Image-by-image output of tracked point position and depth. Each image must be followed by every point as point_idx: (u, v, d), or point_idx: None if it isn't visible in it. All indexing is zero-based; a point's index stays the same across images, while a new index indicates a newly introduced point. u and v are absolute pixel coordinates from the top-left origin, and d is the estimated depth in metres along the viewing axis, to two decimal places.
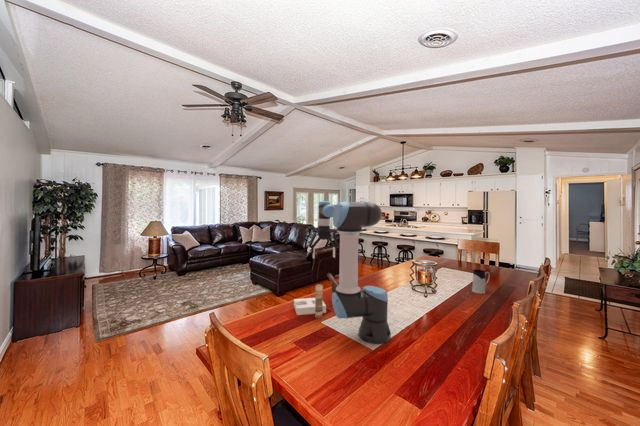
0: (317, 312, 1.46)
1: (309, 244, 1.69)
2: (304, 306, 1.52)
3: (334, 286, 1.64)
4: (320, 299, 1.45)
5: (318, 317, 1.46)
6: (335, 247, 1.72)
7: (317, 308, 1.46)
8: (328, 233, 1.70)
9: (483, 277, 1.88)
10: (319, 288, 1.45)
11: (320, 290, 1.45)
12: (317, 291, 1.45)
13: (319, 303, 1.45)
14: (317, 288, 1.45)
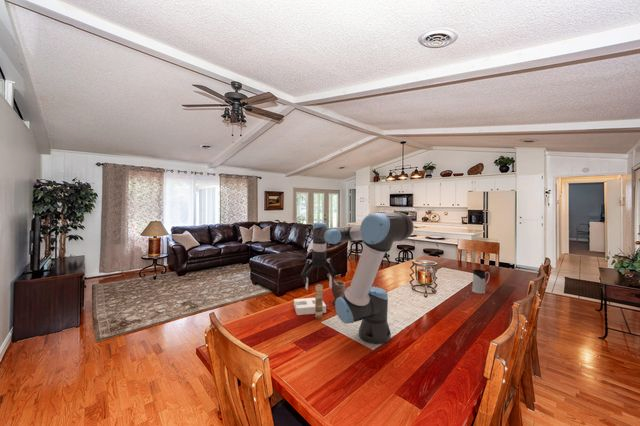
0: (317, 312, 1.46)
1: (301, 273, 1.44)
2: (304, 306, 1.52)
3: (334, 286, 1.64)
4: (320, 299, 1.45)
5: (318, 317, 1.46)
6: None
7: (317, 308, 1.46)
8: (324, 260, 1.46)
9: (483, 277, 1.88)
10: (319, 288, 1.45)
11: (320, 290, 1.45)
12: (317, 291, 1.45)
13: (319, 303, 1.45)
14: (317, 288, 1.45)
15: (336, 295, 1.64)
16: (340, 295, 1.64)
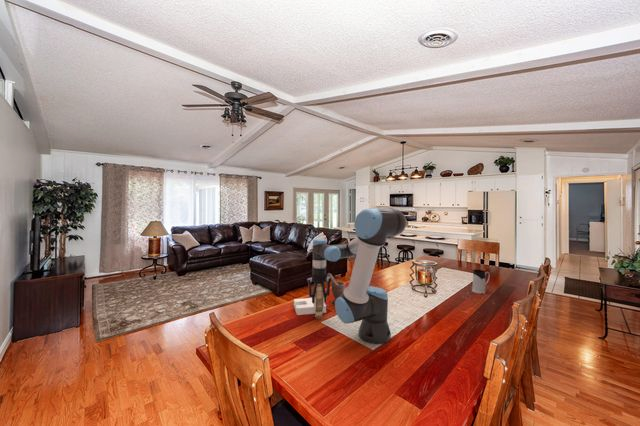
0: (317, 312, 1.46)
1: (309, 293, 1.45)
2: (304, 306, 1.52)
3: (334, 286, 1.64)
4: (320, 299, 1.45)
5: (318, 317, 1.46)
6: (324, 296, 1.47)
7: (317, 308, 1.46)
8: (324, 276, 1.46)
9: (483, 277, 1.88)
10: (319, 288, 1.45)
11: (320, 290, 1.45)
12: (317, 291, 1.45)
13: (319, 303, 1.45)
14: (317, 288, 1.45)
15: (336, 295, 1.64)
16: (340, 295, 1.64)
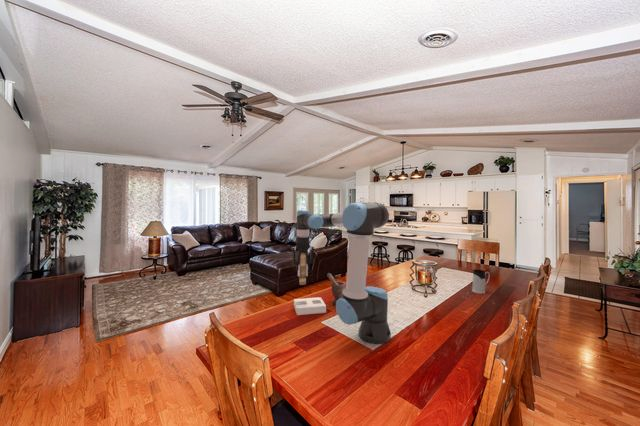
0: (301, 279, 1.55)
1: (293, 261, 1.55)
2: (304, 306, 1.52)
3: (334, 286, 1.64)
4: (303, 266, 1.55)
5: (302, 283, 1.55)
6: (307, 264, 1.56)
7: (301, 275, 1.55)
8: (308, 245, 1.55)
9: (483, 277, 1.88)
10: (303, 256, 1.54)
11: (303, 258, 1.54)
12: (301, 259, 1.54)
13: (302, 270, 1.54)
14: (301, 256, 1.54)
15: (336, 295, 1.64)
16: (340, 295, 1.64)
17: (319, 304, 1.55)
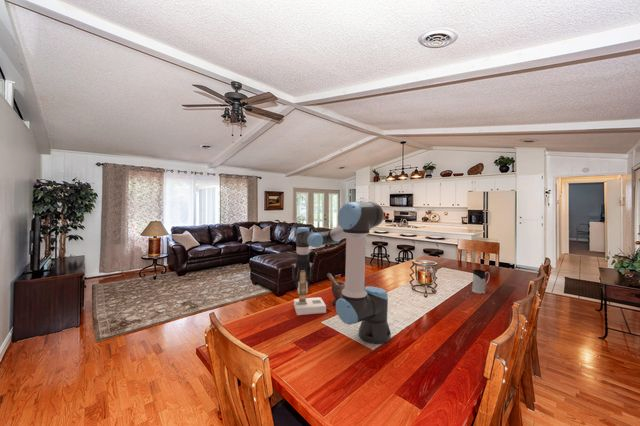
0: (300, 296, 1.55)
1: (293, 278, 1.55)
2: (304, 306, 1.52)
3: (334, 286, 1.64)
4: (303, 283, 1.55)
5: (301, 300, 1.55)
6: (307, 281, 1.57)
7: (300, 292, 1.55)
8: (307, 262, 1.56)
9: (483, 277, 1.88)
10: (302, 273, 1.55)
11: (303, 275, 1.55)
12: (300, 276, 1.55)
13: (302, 287, 1.55)
14: (300, 273, 1.55)
15: (336, 295, 1.64)
16: (340, 295, 1.64)
17: (319, 304, 1.55)
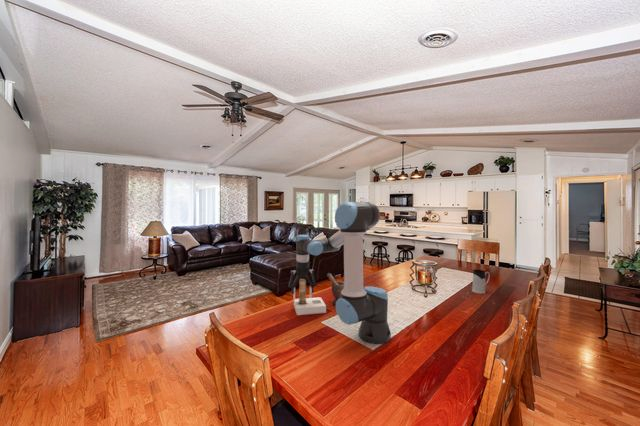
0: None
1: (289, 284, 1.55)
2: (304, 306, 1.52)
3: (334, 286, 1.64)
4: (303, 292, 1.55)
5: None
6: None
7: (300, 301, 1.56)
8: (307, 270, 1.56)
9: (483, 277, 1.88)
10: (302, 282, 1.55)
11: (303, 284, 1.55)
12: (300, 285, 1.55)
13: (302, 296, 1.55)
14: (300, 282, 1.55)
15: (336, 295, 1.64)
16: (340, 295, 1.64)
17: (319, 304, 1.55)
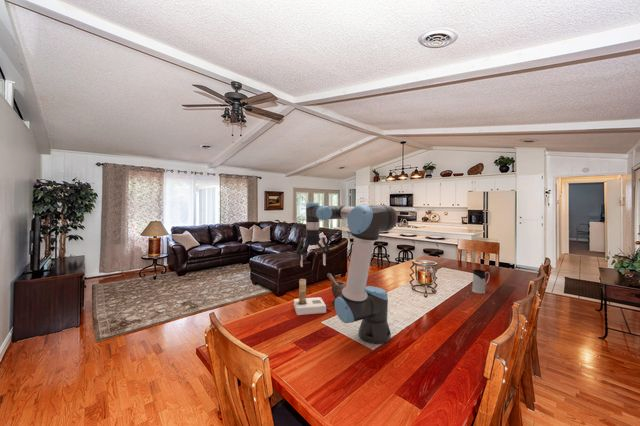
0: None
1: (296, 251, 1.51)
2: (304, 306, 1.52)
3: (334, 286, 1.64)
4: (303, 292, 1.55)
5: None
6: (325, 253, 1.55)
7: (300, 301, 1.56)
8: (317, 238, 1.53)
9: (483, 277, 1.88)
10: (302, 282, 1.55)
11: (303, 284, 1.55)
12: (300, 285, 1.55)
13: (302, 296, 1.55)
14: (300, 282, 1.55)
15: (336, 295, 1.64)
16: (340, 295, 1.64)
17: (319, 304, 1.55)
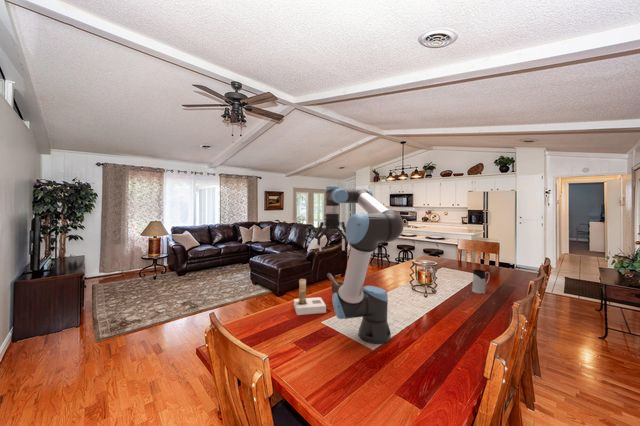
0: None
1: (315, 235, 1.48)
2: (304, 306, 1.52)
3: (334, 286, 1.64)
4: (303, 292, 1.55)
5: None
6: (345, 238, 1.51)
7: (300, 301, 1.56)
8: (337, 222, 1.49)
9: (483, 277, 1.88)
10: (302, 282, 1.55)
11: (303, 284, 1.55)
12: (300, 285, 1.55)
13: (302, 296, 1.55)
14: (300, 282, 1.55)
15: None
16: None
17: (319, 304, 1.55)
